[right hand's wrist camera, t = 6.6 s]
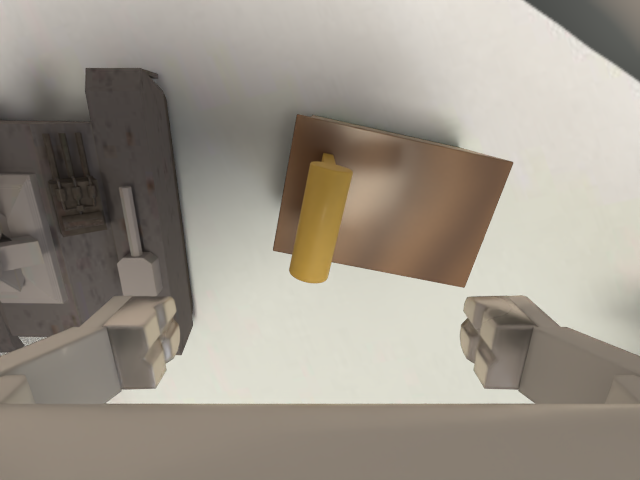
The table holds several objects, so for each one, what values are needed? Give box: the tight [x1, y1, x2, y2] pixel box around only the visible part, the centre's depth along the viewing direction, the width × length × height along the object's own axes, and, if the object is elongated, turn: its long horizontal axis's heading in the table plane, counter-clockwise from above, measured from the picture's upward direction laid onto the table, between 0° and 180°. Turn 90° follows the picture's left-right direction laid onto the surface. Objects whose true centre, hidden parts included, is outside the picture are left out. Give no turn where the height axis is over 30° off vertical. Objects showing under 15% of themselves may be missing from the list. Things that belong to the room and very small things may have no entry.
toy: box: [0, 68, 193, 355], centre depth 28 cm, size 25×20×15 cm
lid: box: [273, 114, 513, 288], centre depth 22 cm, size 15×10×8 cm, turn 78°
